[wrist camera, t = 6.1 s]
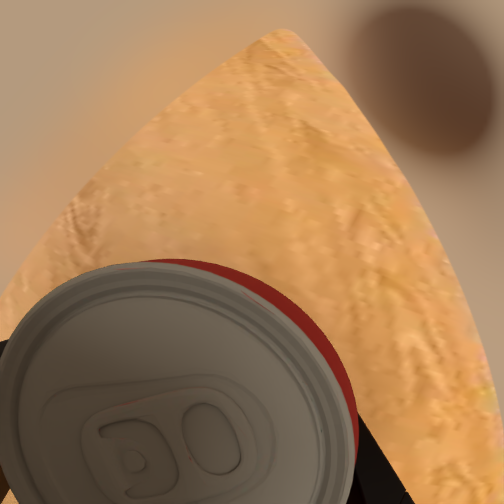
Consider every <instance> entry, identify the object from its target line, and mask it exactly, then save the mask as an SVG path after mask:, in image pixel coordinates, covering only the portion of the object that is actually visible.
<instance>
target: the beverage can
mask: <svg viewBox="0 0 504 504" xmlns="http://www.w3.org/2000/svg"><path fill="white" fill-rule="evenodd" d="M358 441H359V425H358V413H357V408H356V402H355V397H354V394H353V390H352V386H351V383H350V380H349V378H348V375H347V373H346V370H345V368H344V366H343V364H342V362H341V360H340V358H339V356H338V354H337V353H336V351H335V349H334V348H333V346H332V344H331V343H330V341H329V340H328V339H327V337H326V336H325V335H324V333H323V332H322V331H321V329H320V328H319V327H318V326H317V325H316V324H315V322H314V321H313V320H312V319H311V318H310V317H309V316H308V315H307V314H306V313H305V312H304V311H303V310H302V309H301V308H300V307H298V306H297V305H296V304H295V303H293V302H292V301H291V300H290V299H288V298H287V297H286V296H284V295H283V294H281V293H280V292H278V291H277V290H275V289H274V288H272V287H271V286H269V285H267V284H265V283H264V282H262V281H260V280H258V279H256V278H254V277H251V276H249V275H247V274H245V273H242V272H239V271H237V270H234V269H231V268H228V267H224V266H221V265H217V264H213V263H207V262H202V261H195V260H186V259H158V260H149V261H142V262H134V263H124V264H116V265H111V266H107V267H103V268H99V269H96V270H93V271H90V272H86V273H84V274H81V275H79V276H77V277H75V278H73V279H71V280H69V281H67V282H65V283H63V284H62V285H60V286H58V287H57V288H55V289H54V290H53V291H51V292H50V293H48V294H47V295H46V296H44V297H43V298H42V299H41V300H40V301H39V302H37V303H36V304H35V305H34V306H33V307H32V308H31V309H30V311H29V312H28V313H27V314H26V315H25V316H24V318H23V319H22V320H21V321H20V323H19V324H18V326H17V327H16V329H15V330H14V332H13V333H12V335H11V337H10V338H9V340H8V342H7V344H6V346H5V349H4V351H3V353H2V356H1V358H0V465H1V467H2V470H3V473H4V475H5V477H6V480H7V482H8V484H9V486H10V489H11V491H12V492H13V494H14V496H15V498H16V499H17V501H18V503H19V504H346V502H347V499H348V496H349V493H350V489H351V486H352V481H353V474H354V467H355V463H356V458H357V451H358Z"/></svg>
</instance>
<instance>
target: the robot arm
mask: <svg viewBox="0 0 504 504" xmlns="http://www.w3.org/2000/svg"><path fill="white" fill-rule="evenodd" d="M8 340H9V339H8ZM8 340H4V341H1V342H0V358H1V356H2V353H3V351H4V349H5V346H6V344H7V342H8ZM357 413H358V412H357ZM358 425H359V441H358V451H357V458H356V463H355V467H354V474H353V481H352V486H351V489H350V493H349V496H348V499H347V502H346V504H415V503H414V501H413V500H412V498H411V497H410V495H409V493H408V492H406V489H405V487H404V486H403V484H402V482H401V481H400V479H399V477H398V476H397V474H396V473H395V471H394V469H393V468H392V466H391V465H390V463H389V461H388V460H387V458H386V457H385V455H384V453H383V452H382V450H381V449H380V447H379V445H378V444H377V442H376V441H375V439H374V437H373V436H372V434H371V433H370V431H369V429H368V428H367V426H366V425H365V423H364V421H363V420H362V418H361V417H360V415H359V413H358ZM9 489H10V486H9V484H8V482H7V480H6V477H5V475H4V473H3V470H2V467H1V465H0V504H1V503H2V501H3V499H4V498H5V496H6V494H7V493H8V491H9Z"/></svg>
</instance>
